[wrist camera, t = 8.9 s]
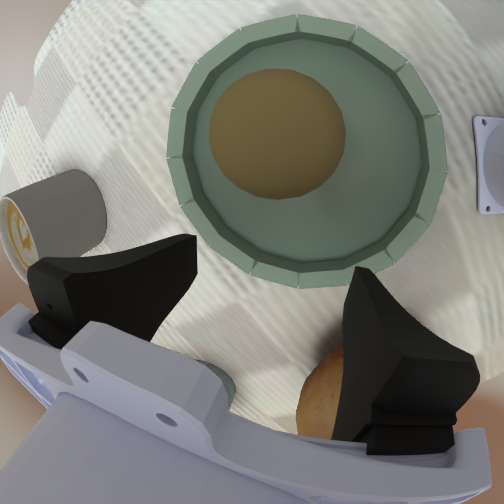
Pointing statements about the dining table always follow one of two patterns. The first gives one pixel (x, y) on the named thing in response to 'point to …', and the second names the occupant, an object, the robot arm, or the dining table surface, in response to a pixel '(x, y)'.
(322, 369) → the butternut squash
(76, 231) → the coffee mug
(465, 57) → the dining table surface
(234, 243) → the round tray
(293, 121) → the olive brown knobbed peg
